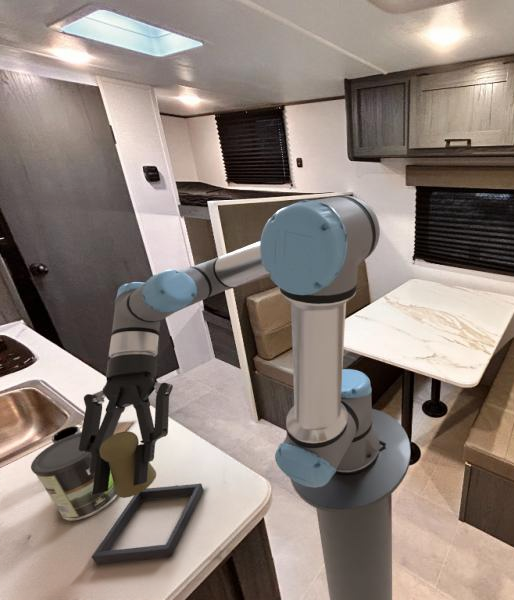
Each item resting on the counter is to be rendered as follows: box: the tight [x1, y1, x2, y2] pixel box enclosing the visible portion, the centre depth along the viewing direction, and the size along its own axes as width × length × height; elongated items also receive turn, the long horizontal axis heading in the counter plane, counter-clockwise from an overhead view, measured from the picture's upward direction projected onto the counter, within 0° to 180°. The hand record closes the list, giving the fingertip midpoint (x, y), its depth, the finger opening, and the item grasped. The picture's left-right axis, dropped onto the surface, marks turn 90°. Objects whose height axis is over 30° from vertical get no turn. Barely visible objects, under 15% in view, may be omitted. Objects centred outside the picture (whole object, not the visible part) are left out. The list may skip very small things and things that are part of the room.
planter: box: [51, 425, 82, 444], centre depth 74 cm, size 4×4×10 cm
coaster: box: [113, 421, 134, 435], centre depth 86 cm, size 6×6×1 cm
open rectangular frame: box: [91, 483, 205, 566], centre depth 64 cm, size 13×13×2 cm
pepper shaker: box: [99, 430, 157, 499], centre depth 57 cm, size 6×6×11 cm
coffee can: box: [30, 431, 118, 521], centre depth 66 cm, size 10×10×14 cm
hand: (120, 488), depth 55 cm, fingers closed on pepper shaker, 5 cm apart
